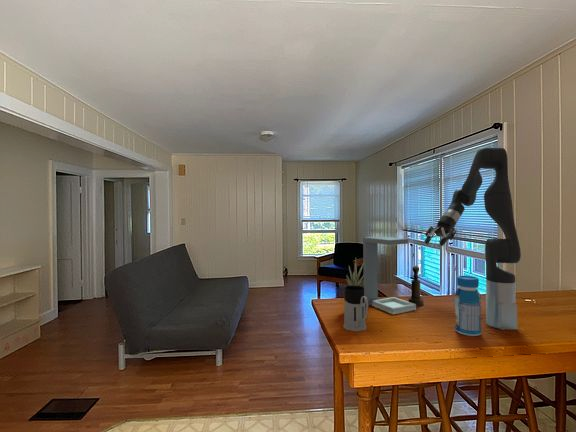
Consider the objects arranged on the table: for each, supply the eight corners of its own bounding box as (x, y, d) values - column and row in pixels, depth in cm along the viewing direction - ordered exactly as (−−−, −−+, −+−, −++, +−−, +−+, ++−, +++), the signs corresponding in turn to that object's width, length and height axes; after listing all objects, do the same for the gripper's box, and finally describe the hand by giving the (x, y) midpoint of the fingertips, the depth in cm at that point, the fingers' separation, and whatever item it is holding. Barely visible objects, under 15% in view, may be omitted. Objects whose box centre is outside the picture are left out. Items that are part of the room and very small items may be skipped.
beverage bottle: (468, 338, 107) (468, 280, 107) (449, 329, 115) (449, 275, 115) (487, 335, 109) (487, 278, 109) (467, 326, 117) (467, 274, 117)
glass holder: (359, 321, 124) (359, 284, 124) (378, 335, 110) (378, 293, 110) (339, 324, 122) (339, 286, 122) (356, 338, 108) (356, 295, 108)
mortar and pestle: (419, 301, 150) (419, 264, 150) (426, 305, 144) (425, 267, 144) (406, 301, 150) (406, 265, 150) (412, 305, 144) (411, 267, 143)
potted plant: (371, 315, 131) (371, 257, 131) (352, 318, 128) (352, 259, 127) (358, 308, 140) (357, 254, 140) (339, 311, 137) (339, 256, 137)
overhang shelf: (389, 300, 153) (388, 235, 153) (416, 310, 138) (416, 238, 137) (363, 304, 146) (363, 237, 146) (389, 315, 131) (389, 240, 130)
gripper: (433, 214, 161) (417, 237, 157) (458, 215, 148) (441, 240, 144) (440, 224, 164) (424, 247, 159) (465, 225, 151) (449, 250, 146)
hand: (433, 244), depth 151 cm, fingers open, 8 cm apart
